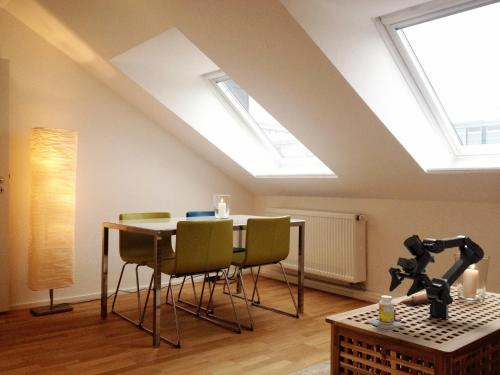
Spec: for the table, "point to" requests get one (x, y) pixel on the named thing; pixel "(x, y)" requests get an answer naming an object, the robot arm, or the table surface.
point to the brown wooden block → (396, 316)
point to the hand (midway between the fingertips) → (398, 293)
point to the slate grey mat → (385, 326)
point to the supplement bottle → (386, 310)
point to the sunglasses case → (416, 300)
